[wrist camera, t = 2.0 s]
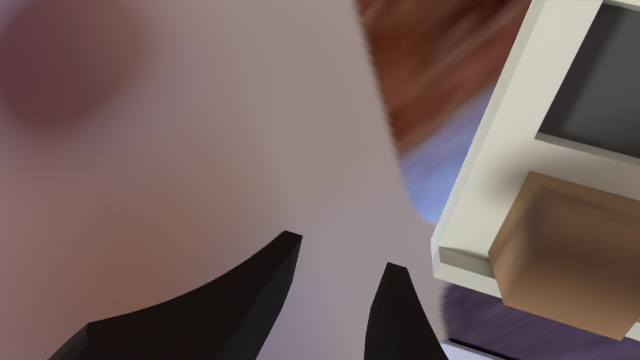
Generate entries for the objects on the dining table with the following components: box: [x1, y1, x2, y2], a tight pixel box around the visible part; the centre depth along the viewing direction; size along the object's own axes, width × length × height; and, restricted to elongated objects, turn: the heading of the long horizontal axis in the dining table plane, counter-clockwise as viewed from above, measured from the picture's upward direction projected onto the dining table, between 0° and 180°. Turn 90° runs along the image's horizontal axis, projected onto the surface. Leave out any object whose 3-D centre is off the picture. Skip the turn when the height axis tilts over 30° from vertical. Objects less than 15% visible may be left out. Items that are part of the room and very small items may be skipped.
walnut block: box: [488, 171, 640, 341], centre depth 17 cm, size 5×5×4 cm
